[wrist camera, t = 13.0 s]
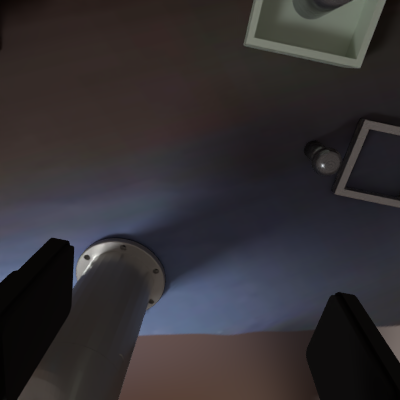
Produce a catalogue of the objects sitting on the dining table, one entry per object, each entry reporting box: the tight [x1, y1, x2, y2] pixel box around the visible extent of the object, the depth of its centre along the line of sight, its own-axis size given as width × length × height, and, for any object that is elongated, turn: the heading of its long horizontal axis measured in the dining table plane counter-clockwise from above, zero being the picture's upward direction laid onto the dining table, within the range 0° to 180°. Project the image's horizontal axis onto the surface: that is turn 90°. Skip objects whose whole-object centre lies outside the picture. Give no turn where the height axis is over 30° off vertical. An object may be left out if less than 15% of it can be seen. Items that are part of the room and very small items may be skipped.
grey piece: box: [304, 118, 400, 208], centre depth 32 cm, size 9×14×6 cm, turn 79°
